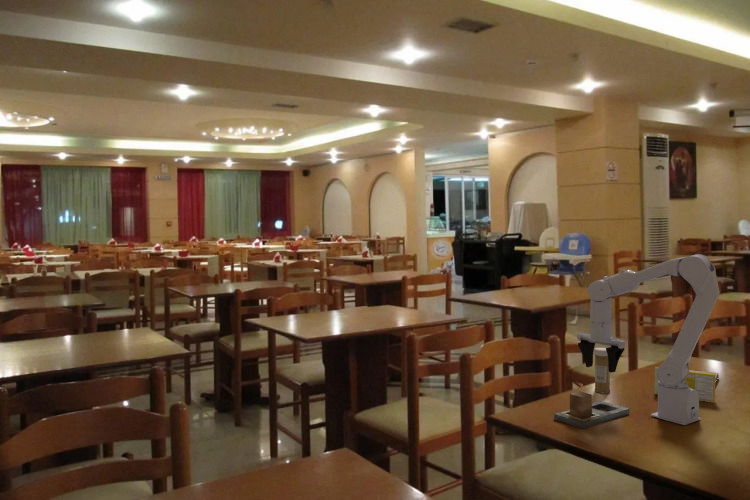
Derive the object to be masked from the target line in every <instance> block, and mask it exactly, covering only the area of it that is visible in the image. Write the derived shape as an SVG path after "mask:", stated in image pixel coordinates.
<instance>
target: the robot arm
mask: <svg viewBox="0 0 750 500" xmlns="http://www.w3.org/2000/svg"><path fill="white" fill-rule="evenodd" d="M716 269H717V268H716V267H715V265H714V264H713V263H712V260H710V258H709V257H708V256H706V255H704V254H699V253H696V254H693V255H690V256H684V257H678V258H673V259H669V260H665V261H663V262H660V263H658V264H655V265H653V266H650V267H647V268H644V269H642V270H638V271H634V270H631V269H627V270H626V269H621V270H619V271H618V273H615V274H613V275H610V276H608V275H605V276H602V277H603V279H599V280H598V279H596V280H595V281H592V282H591V283H590V284H589V285H588V287H587V295H588V297H589V298H590V305H589V325H590V326H589V334H588V333H583V332H582V333H577V334H576V336H577V337H576V338H577V341H580V342H578V343H577V346H578V348H579V350H580V351H581V354H582V357H583V360H584V363H585V367H586V368H590V367H592V368H593V365H594V353H595V348H596V346H595V345H596V344H599V345H603V346H609V347H605V348H606V351H607V355H608V367H609V372H610V374H611V373H615V372H617V367H618V364H619V361H620V359H621V356H622V354H623V353H624V351H625V349H626V343H627V342H626V340H622V339H618V338H616V337H612V327H613V326H612V324H613V323H612V313H613V312H612V306H613V305H612V297H618V296H621V295H624V294H627V293H630V292H633V291H636V290H638V288H639V287H640V284H641V283H644V282H647V281H650V280H654V279H657V278H660V277H664V276H667V275H670V276H673V277H679V276H681V277H682V278H683V279H684V280H685V281H686V282H687V283H689V284H690V285H691V288H692V290H693V291H694V293H695V298H694V300H693V301H692V304H691V307H690V308H689V311H688V313H687V316H686V318H685V320H684V322H683V324H682V326H681V329H680V330H679V332H678V336H677V338H676V340H675V342H674V343H673V346H672V348H671V350H670V351H669V354H668V355H667V357H666V358H665V361H664V362H662V363H661V364H660V365H658V366H657V367H658V368H657V371H656V375H657V378H658V380H659V381H658V395H657V411H656V412H653V413H650V417H653V418H658V419H661V420H664V421H668V422H670V423H675V424H679V425H683V426H686V425H689V424H691V423H694V422H698V421H701V417H700V401H699V395H698V392H697V391H696V390H694V389H691V388H689V387H688V383H687V381H686V379H685V377H686V376H687V375H688V373H689V370H690V361H691V359H692V354H693V353H694V350H695V348H696V345H698V344H697V343H698V341H699V339H700V338H701V336H702V333H703V331H704V329H705V326H706V324H707V322H708V321H709V319H710V316H711V315H712V312H713V310H714V308H715V305H716V303H717V301H718V299H719V296H720V293H721V292H720V291H721V290H720V286H719V284H718V279H717V278H718V277H717V272H716Z"/></svg>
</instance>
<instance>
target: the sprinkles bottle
mask: <svg viewBox="0 0 750 500" xmlns="http://www.w3.org/2000/svg"><path fill="white" fill-rule="evenodd" d="M606 348H607V347H594V361H595V362H594V392H596V393H597V394H609V393H610V392H611V389H610V388H611V372H609V367H608V355H607V351H606Z"/></svg>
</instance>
